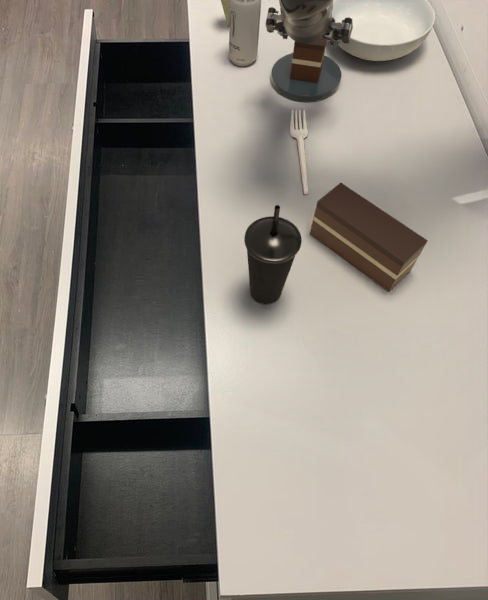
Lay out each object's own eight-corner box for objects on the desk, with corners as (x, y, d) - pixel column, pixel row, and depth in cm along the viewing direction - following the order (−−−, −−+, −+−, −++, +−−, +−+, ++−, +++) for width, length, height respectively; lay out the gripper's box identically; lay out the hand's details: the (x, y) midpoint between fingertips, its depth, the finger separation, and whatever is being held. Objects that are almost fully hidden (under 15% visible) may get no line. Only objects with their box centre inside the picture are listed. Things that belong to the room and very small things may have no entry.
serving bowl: (322, 14, 119) (327, -17, 113) (418, 16, 117) (429, -16, 111) (324, 73, 109) (330, 42, 103) (429, 76, 107) (442, 45, 101)
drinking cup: (249, 265, 86) (257, 178, 68) (295, 278, 84) (315, 192, 67) (234, 303, 82) (238, 221, 65) (282, 318, 80) (299, 238, 63)
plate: (333, 55, 112) (334, 49, 110) (346, 99, 104) (347, 93, 103) (267, 60, 112) (267, 53, 111) (275, 104, 105) (276, 98, 103)
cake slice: (322, 67, 108) (329, 30, 101) (317, 83, 105) (324, 46, 98) (294, 63, 109) (299, 26, 102) (289, 78, 106) (294, 41, 99)
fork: (296, 195, 93) (297, 188, 91) (288, 117, 103) (289, 109, 101) (315, 195, 92) (316, 187, 91) (305, 117, 103) (307, 109, 101)
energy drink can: (225, 53, 114) (226, -18, 101) (251, 47, 114) (256, -25, 101) (233, 70, 111) (235, -1, 98) (261, 64, 111) (266, -8, 98)
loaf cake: (331, 215, 90) (340, 182, 83) (410, 271, 84) (428, 240, 77) (309, 233, 88) (317, 201, 81) (388, 292, 82) (404, 262, 75)
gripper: (255, 30, 83) (266, 52, 98) (347, 43, 80) (344, 64, 95) (266, -23, 81) (276, 8, 96) (360, -12, 78) (355, 19, 93)
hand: (310, 36), depth 96 cm, fingers open, 8 cm apart
